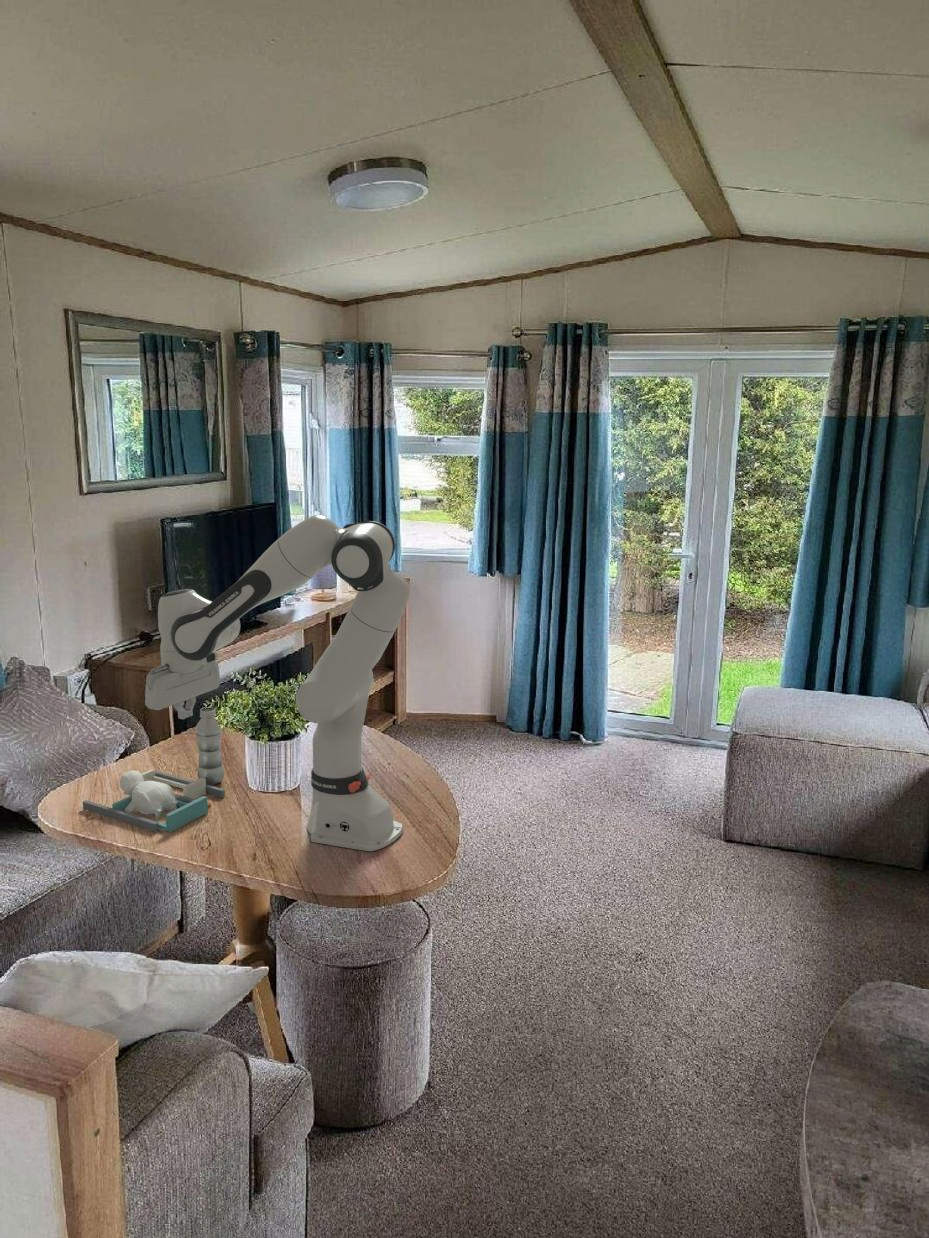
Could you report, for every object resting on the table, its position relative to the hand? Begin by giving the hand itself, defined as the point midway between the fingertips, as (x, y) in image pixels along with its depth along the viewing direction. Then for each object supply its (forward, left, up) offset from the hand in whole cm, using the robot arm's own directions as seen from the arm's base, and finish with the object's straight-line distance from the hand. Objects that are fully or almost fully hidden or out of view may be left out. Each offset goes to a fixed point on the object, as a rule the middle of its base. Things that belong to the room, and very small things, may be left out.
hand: (185, 717), depth 201 cm
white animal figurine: (+12, +3, -25) cm, 28 cm away
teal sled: (+7, +3, -24) cm, 25 cm away
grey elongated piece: (+15, -8, -24) cm, 30 cm away
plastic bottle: (+10, -17, -25) cm, 32 cm away
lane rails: (+13, -1, -25) cm, 28 cm away
